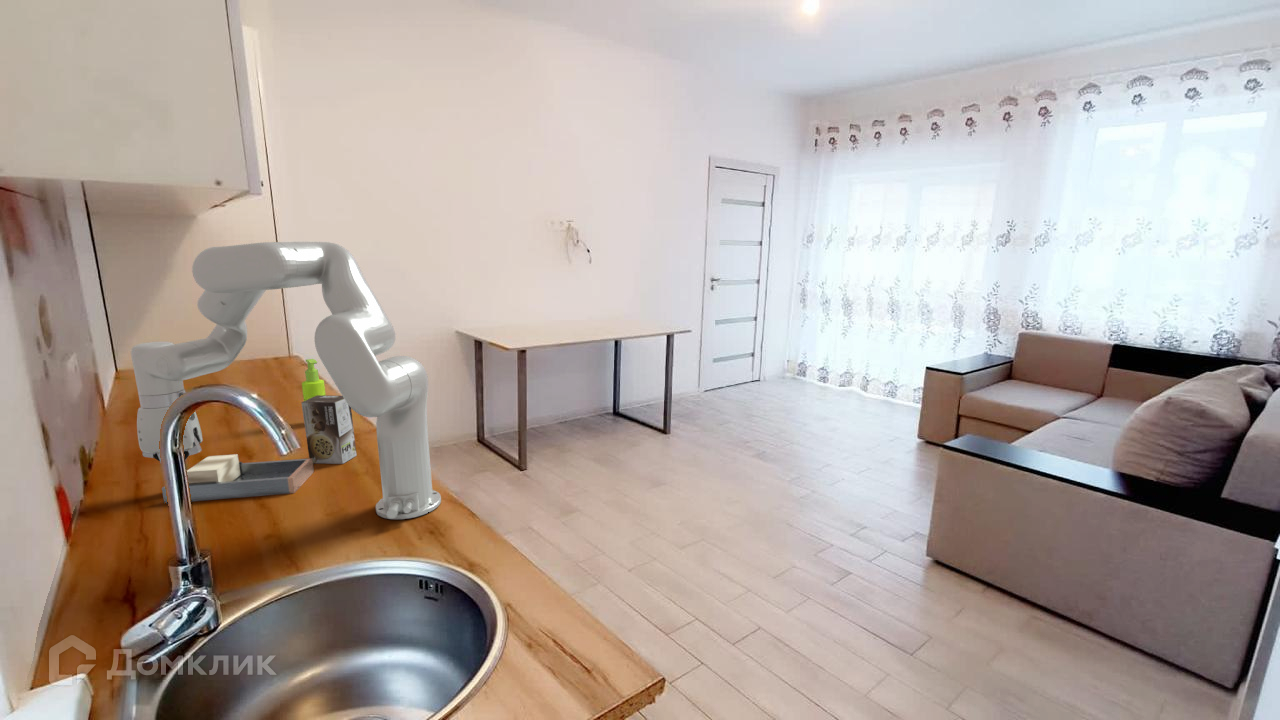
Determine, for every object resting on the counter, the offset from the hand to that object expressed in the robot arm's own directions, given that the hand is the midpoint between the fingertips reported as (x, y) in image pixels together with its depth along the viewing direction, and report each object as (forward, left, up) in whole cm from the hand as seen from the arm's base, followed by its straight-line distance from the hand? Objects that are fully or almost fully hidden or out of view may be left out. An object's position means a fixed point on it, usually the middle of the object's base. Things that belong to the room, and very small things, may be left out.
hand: (177, 479), depth 125 cm
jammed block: (0, -7, -2) cm, 7 cm away
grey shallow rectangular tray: (0, -12, -3) cm, 13 cm away
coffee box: (+14, -27, -3) cm, 31 cm away
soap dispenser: (+47, -13, -3) cm, 49 cm away
